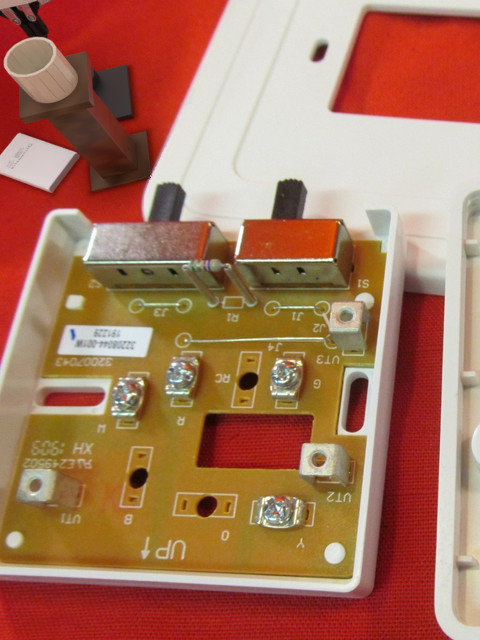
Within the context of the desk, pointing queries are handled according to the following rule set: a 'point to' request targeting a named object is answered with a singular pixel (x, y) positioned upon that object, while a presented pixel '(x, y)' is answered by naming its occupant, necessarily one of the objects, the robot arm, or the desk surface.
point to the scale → (114, 90)
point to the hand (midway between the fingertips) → (42, 37)
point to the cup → (41, 70)
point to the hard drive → (36, 162)
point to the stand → (93, 131)
